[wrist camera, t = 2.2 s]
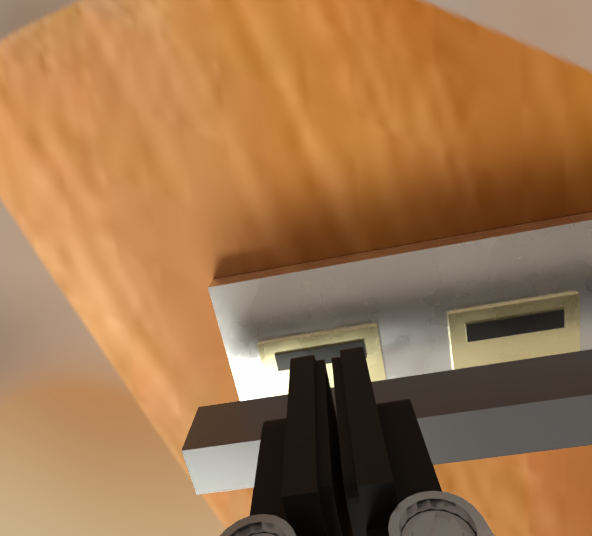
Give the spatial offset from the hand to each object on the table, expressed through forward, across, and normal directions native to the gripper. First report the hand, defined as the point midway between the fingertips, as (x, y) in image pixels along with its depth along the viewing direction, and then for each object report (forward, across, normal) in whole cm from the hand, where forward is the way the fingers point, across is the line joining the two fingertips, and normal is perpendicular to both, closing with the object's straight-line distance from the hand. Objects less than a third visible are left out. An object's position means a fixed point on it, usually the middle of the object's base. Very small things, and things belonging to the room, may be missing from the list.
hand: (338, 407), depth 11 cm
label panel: (+14, -4, +7) cm, 16 cm away
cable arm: (+11, -5, +7) cm, 14 cm away
